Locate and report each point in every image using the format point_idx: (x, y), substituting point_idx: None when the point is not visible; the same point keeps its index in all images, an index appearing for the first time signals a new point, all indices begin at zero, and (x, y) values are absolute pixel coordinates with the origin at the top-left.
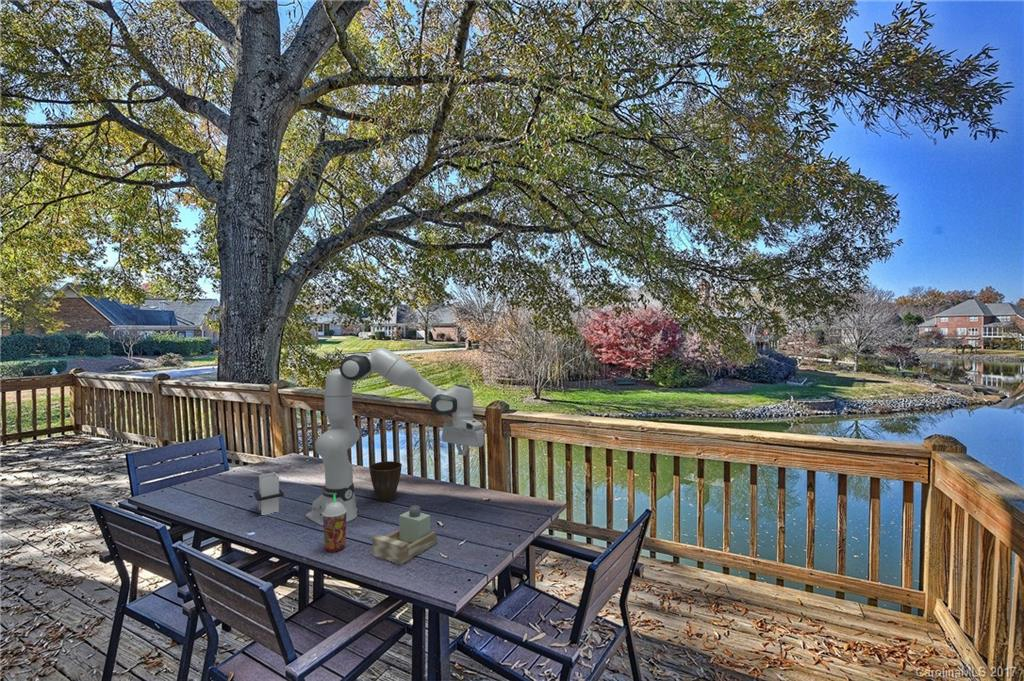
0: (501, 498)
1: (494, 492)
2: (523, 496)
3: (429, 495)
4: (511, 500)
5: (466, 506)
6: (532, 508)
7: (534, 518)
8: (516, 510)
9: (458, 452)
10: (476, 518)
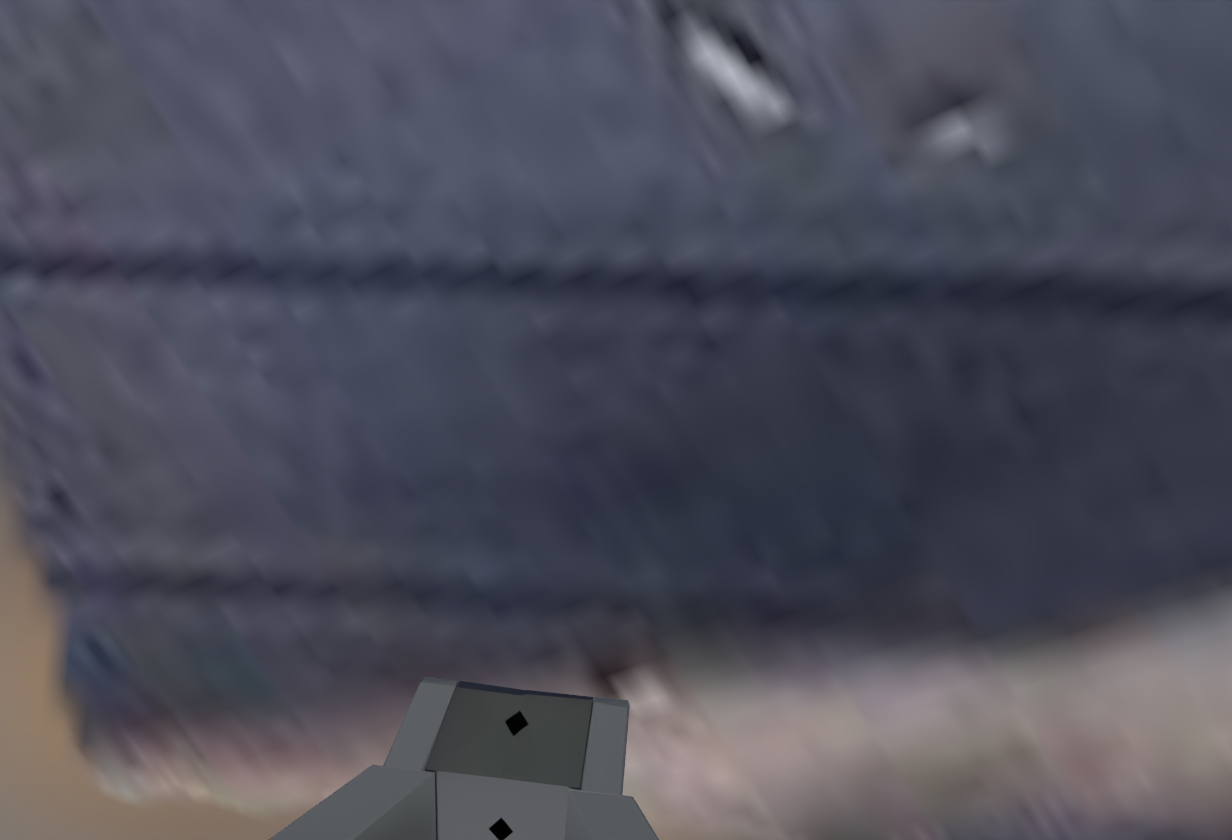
0: None
1: None
2: None
3: (1164, 597)
4: None
5: (706, 505)
6: (215, 650)
7: (89, 497)
8: (293, 579)
9: (612, 743)
10: (483, 315)
